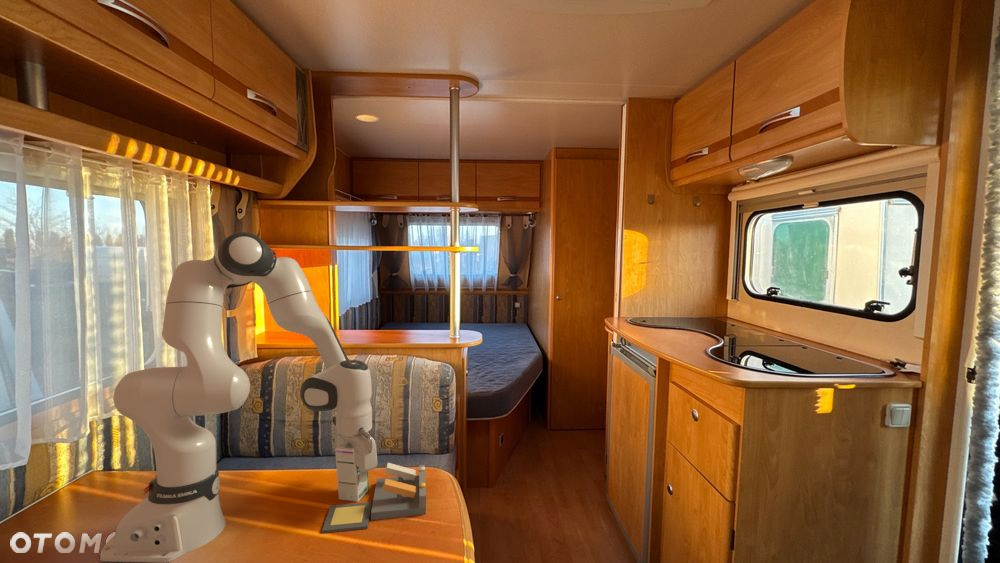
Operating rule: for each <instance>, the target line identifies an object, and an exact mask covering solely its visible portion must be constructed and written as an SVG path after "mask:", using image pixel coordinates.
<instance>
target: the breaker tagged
mask: <svg viewBox="0 0 1000 563" xmlns="http://www.w3.org/2000/svg"><path fill="white" fill-rule="evenodd" d="M383 491H387V492H391V493H395V494H399V495H403V496H407V497H411V498H414V496H415V493H416V486H413V485H409V484H405V483H401V482H397V481H393V480H390V479H385V482H384V484H383Z"/></svg>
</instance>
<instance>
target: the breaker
mask: <svg viewBox="0 0 1000 563" xmlns="http://www.w3.org/2000/svg"><path fill="white" fill-rule="evenodd" d="M384 473H385V474H387V475H391V476H393V477H401V478H405V479H409V480H412V481H414V479H415V476H417V470H416V469H412V468H409V467H405V466H402V465H398V464H394V463H391V462H387V464H386V467H385V472H384Z"/></svg>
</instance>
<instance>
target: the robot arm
mask: <svg viewBox="0 0 1000 563" xmlns="http://www.w3.org/2000/svg"><path fill="white" fill-rule="evenodd" d="M252 282H253V283H254V284H256V285H257V286H258V287H260V289H261V290H262V292H263V294H264V297H265V300H266V303H267V305H268V308H269V311H270V315H271V316H272V318H273V320H274V321H275V323H276V325H277V326H278V327H280V328H281V329H283V330H285V331H287V332H290V333H295V334H299V335H302V336H305V337H306V338H309V339H310V340H311V341H312V342H313V344H314V346H315V347H316V350H317V352H318V353H319V357H320V358H321V360H322V362H323V363H324V366H325V370H322V371H320V372H316V373H315V374H313V375H311V376H309V377H307V379H305V380H303V382H302V384H301V386H300V391H299V392H300V393H299V395H300V400H301V402H302V404H303V405H304V407H306V408H307V409H308V410H309V411H311V412H328V411H332V410H335V411H336V414H333V415H332V416H331V423H332V425H333V435H334V436H333V437H334V443H335V446H336V447H338V446H339V445H340V444H341V443H343V442H344V441H345V440H346V441H348V442H349V443H350V444H351V445H352V446H353V447H354V451H355V452H354V463H355V464H356V465H357V466H358V467H359V470H360V472H359V474H358V480H359V481H360V482H364V481H366V480H367V472H368V473H369V472H370V471H372V470H375V469H376V468H377V466H378V454H377V445H376V444H377V443H376V441H375V438H374V437H372V436H371V434H370V431H371V430H372V428H373V407H372V404H371V399H372V396H373V395H372V394H373V389H372V388H373V386H372V374H371V371H370V368H369V366H368V364H367V363H365V362H364V361H361V360H357V359H355V360H354V359H353V360H352V359H349V358H348V356H347V354H346V352H345V349H344V348H343V346H342V344H341V341H340V340H339V337H338V335H337V333H336V331H335V329H334V327H333V326H332V324H331V322H330V320H329V318H328V317H327V316H326V315H325V314H324V312H323V310H321V308H320V306H319V305H318V302H317V300H316V298H315V296H314V293H313V290H312V287H311V285H310V283H309V280H308V278H307V277H306V274H305V272H304V271H303V269H302V267H301V266H300V264H299V263H298V261H297V260H296V259H294V258H292V257H288V256H280V257H278V256H277V253H276V252H275V251H274V250H273V249H271V247H269V246H268V245H267V243H266V242H265V241H264V240H263V239H261V238H260V237H259V236H258V235H256V234H253V233H250V232H247V231H246V232H244V231H241V232H235V233H233V234H229V235H228V236H227V237H225V238H224V239H223V240H221V242H220V244H219V245H218V248H217V249H216V251H215V253H214V254H213V256H212V257H211V258H210V259H206V260H201V259H192V260H187V261H184V262H181V263H180V264H178V266H177V267H176V268H175V270H174V272H173V274H172V277H171V281H170V283H169V286H168V287H169V288H168V291H167V297H166V301H165V308H164V316H163V324H162V331H161V336H162V339H163V340H164V342H165V343H166V344H167V345H168V346H169V347H171V348H173V349H175V350H178V351H180V352H182V353H184V355H185V356H186V363H187V364H186V366H167V367H166V366H164V367H163V366H162V367H160V366H159V367H151V368H145V369H140V370H135V371H131V372H128V373H127V374H125V375H124V376H122V378H121V379H120V380H119V382H117V384H116V386H115V388H114V391H113V398H112V399H113V404H114V406H115V409H116V410H117V412H118V413H119V414H120V415H121V416H123V417H126V418H127V419H129V420H131V421H132V422H133V423H135V424H136V425H137V426H139V427H140V428H141V429H142V430H143V432H144V433H145V434H146V436H147V437H148V439H149V442H150V443H151V446H152V448H153V451H154V460H155V471H156V474H155V477H154V478H153V479H152V480H150V482H149V483H148V485H147V486H146V487H145V488H144V489H143V490H142V491H143V495H146V494H147V493H148V496H146V497H144V499H143V500H141V501H140V502H138V503H137V504H136V505H135V506H134V507H132V508H131V509H130V510H129V511H128V512H126V513H125V514H124V516H122V518H121V520H120V521H119V523H118V524H117V527H116V529H115V533H114V535H113V536H112V537H111V538H110V539H109V540H108V541H107V542H106V544H105V545H104V546H103V547H102V549H101V551H100V556H99V561H100V562H114V563H115V562H119V563H121V562H122V563H171V562H172V561H174V560H176V559H178V558H179V557H181V556H183V555H184V554H187V553H189V552H191V551H194V550H196V549H199V548H201V547H203V546H204V545H206V544H208V543H211V541H213V540H215V539H216V538H217V537H218V536H219V535H220V534H221V533H222V532H223V530H224V529H225V526H226V523H227V522H226V518H225V517H224V513H223V510H222V506H221V502H220V495H219V493H220V484H221V482H220V473H219V472H220V471H219V469H220V468H219V466H218V465H217V440H216V437H215V435H214V434H213V433H212V432H211V431H210V430H209V429H208V428H205V427H202V426H201V425H198V424H197V423H196V422H194V421H193V420H192V419H191V417H195V416H215V415H218V414H219V415H220V414H223V413H227V412H232V411H235V410H238V409H240V408H241V406H243V405H244V404H245V402H246V401H247V399H248V397H249V394H250V391H251V382H250V378H249V376H248V374H247V373H246V372H245V370H244V369H243V368H241V367H240V366H238V365H237V364H236V363H235V362H234V361H232V359H231V358H230V357H229V355H228V353H227V352H226V350H225V348H224V343H223V340H222V321H223V320H222V318H223V310H224V308H223V307H224V297H225V293H226V289H231V288H239V287H243V286H246V285H249V284H251V283H252Z"/></svg>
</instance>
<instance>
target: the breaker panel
mask: <svg viewBox="0 0 1000 563" xmlns="http://www.w3.org/2000/svg"><path fill="white" fill-rule="evenodd" d="M418 470H419V471H418V475H416V476H415V479H414V481H412V480H409V479H405V478H401V477H398V476H393V477H383V478H380V477H379V478H376V482H375V488H374V495H373V499H372V505H371V511H370V521H371V522H372V521H378V520H387V519H388V520H389V519H397V518H407V517H415V516H421V515H422V516H423V515H427V484H426V464H419V465H418ZM385 479H390V480H393V481H397V482H401V483H405V484H409V485H413V486H416V493H415V496H414V498H411V497H407V496H403V495H399V494H395V493H391V492H387V491H383V484H384V482H385Z"/></svg>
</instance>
